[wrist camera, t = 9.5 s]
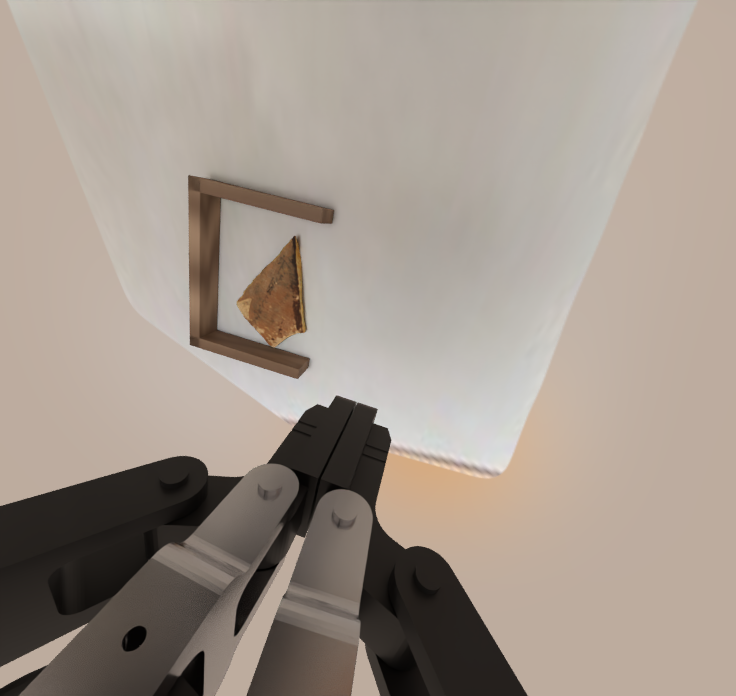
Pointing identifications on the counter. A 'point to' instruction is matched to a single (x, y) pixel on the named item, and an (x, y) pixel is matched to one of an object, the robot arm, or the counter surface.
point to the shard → (276, 297)
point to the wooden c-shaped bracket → (207, 265)
